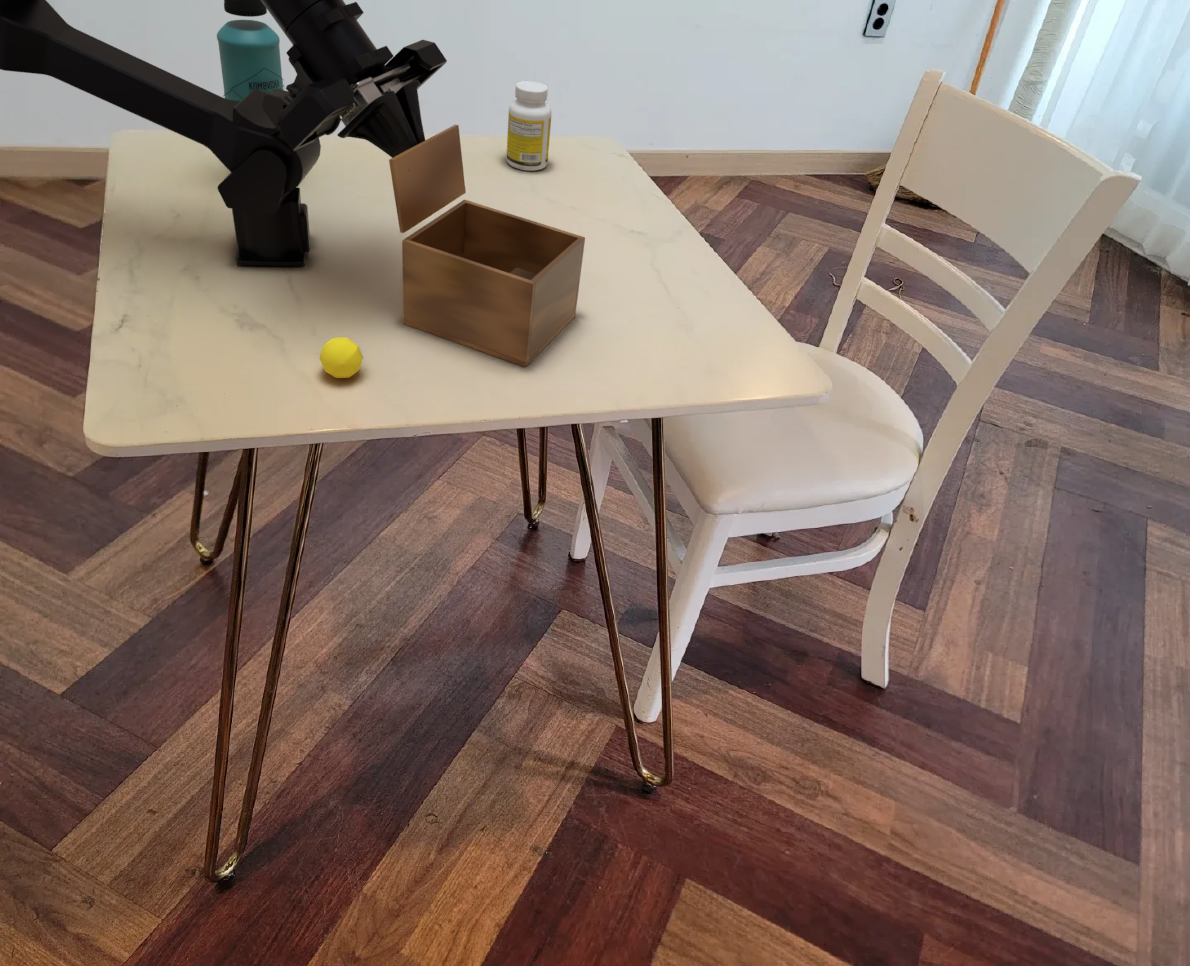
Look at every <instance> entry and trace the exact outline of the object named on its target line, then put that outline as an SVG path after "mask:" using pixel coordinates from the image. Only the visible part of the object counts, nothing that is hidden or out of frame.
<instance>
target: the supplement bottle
mask: <svg viewBox="0 0 1190 966" xmlns="http://www.w3.org/2000/svg"><path fill="white" fill-rule="evenodd" d="M514 89H515V90H514V96H515V99H514V100H512V101H511V102H510V104H509V106H508V120H507V141H506V163H507V164H509V166H511V167H513V168H515V169H518V170H522V171H530V172H531V171H532V172H535V171H540V170H542V169H544V168H545V167H547V165H548V161H549V150H550V138H551V137H550V136H551V124H552V108H551V106H550V105H549V104H548V103H546V101H547V100H548V91H549V89H548V86H547V85H546V84H544V83H542V82H538V81H533V80H522V81H518V82H517V83H516V84H515V88H514Z"/></svg>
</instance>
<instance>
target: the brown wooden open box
mask: <svg viewBox="0 0 1190 966" xmlns="http://www.w3.org/2000/svg"><path fill="white" fill-rule="evenodd" d="M585 243H586V237H585V236H583V235H580V234H575V233H573V232H570V231H566V230H564V229H560V228H557V227H553V226H550V225H547V224H544V223H540V222H537V221H535V220H531V219H528V218H524V217H522V216H519V215H515V214H512V213H509V212H506V211H503V210H499V209H497V208H492V207H490V206H487V205H483V204H481V203H477V202H475V201H471V200H468V199H463V200H461V201H460V202H458V203H457V204H455V205H454V206H452V207H451V208H449V209H447V210H446V211H445V212H443V213H442V214H440V215H439V216H437V217H436V218H434V219H433V220H431V221H429V222H428V223H426V224H425V225H423V226H422V227H420V228H419V229H417V230H416V231H414V232H413V233H412V234H410V235H408V236H407V237H405V238H404V239H402V240H401V245H402V246H401V252H402V253H401V257H402V260H401V261H402V323H403V325H406V326H409V327H413V328H414V329H417V330H421V331H423V332H426V333H428V334H432V335H434V336H437V337H440V338H443V339H446V340H449V341H451V342H454V343H457V344H459V345H462V346H465V347H468V348H471V349H474V350H476V351H479V352H482V353H485V354H488V355H491V356H494V357H496V358H499V359H502V360H504V361H508V362H510V363H513V364H515V365H519V366H521V367H525V368H527V367H528V366H529V365H530V364H531V362H533V360H535V358H536V357H538V356H539V354H540V353H541V352H542V351H543V350H544V349H545V348H546V347H547V346H548V345H549V344H550V343H551V342H552V341H553V340H554V339H555V337H557V336H558V335H559V334H560V332H561V331H563V329H564V328H565V327H566V326H567V325H568V324H569V323H570V322H571V321H572V320H573V319H574V318H575V317H576V314H577V305H578V298H579V291H580V282H581V276H582V266H583V258H584V251H585V250H584V249H585ZM515 268H520V269H523V270H526V271H529V272H532V273H535V274H537V275H536V276H535V277H534V278H533V279H532V280H528V279H525V278H522V277H519V276H516V275H513V274H510V272H511V271H512V270H514V269H515Z"/></svg>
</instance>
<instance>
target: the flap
mask: <svg viewBox="0 0 1190 966" xmlns="http://www.w3.org/2000/svg"><path fill="white" fill-rule="evenodd" d="M461 145H462V144H461V137H460V128H459V124H453V125H452V126H449V127H448V128H446V129H443V130H442V131H440V132H439V133H437V134H435V135H432V136H430V137H429V138H427V139H425V141H423V142H421V143H420V144H418V145H416V146H414V147H412V148H410V149H408V150H406V151H404V152H403V153H401V154H399V155H397V156H395V157H393V158H392V157H390V158H389V159H388V163H389V169H390V175H391V182H392V188H393V189H392V190H393V195H394V201H395V207H396V214H397V215H396V216H397V220H398V226H399V227H398V228H399V233H401V234H405V233H406V232H408V231H410V230H412V228H414V227H415V226H417V225H419V224H420V223H421V222H423V221H425V220H426V219H429V217H431V216H432V215H434V214H435V213H438V212H439V211H441V210H442V209H444V207H446V206H448V205H449V204H451V203H452V202H454V201H455V200H457V199H458V198H460V197H461V196H463V195H465V194H466V184H465V183H466V182H465V174H464V163H463V154H462V146H461Z"/></svg>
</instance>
